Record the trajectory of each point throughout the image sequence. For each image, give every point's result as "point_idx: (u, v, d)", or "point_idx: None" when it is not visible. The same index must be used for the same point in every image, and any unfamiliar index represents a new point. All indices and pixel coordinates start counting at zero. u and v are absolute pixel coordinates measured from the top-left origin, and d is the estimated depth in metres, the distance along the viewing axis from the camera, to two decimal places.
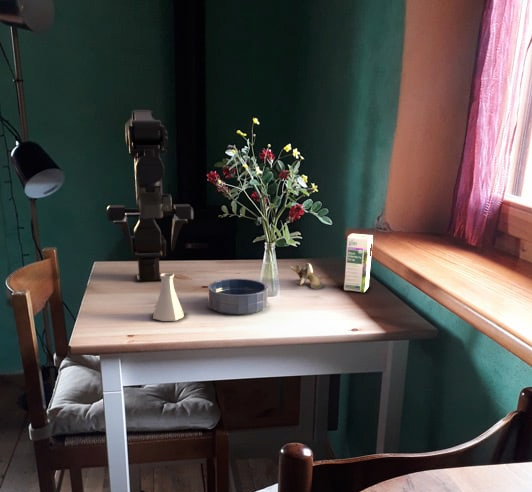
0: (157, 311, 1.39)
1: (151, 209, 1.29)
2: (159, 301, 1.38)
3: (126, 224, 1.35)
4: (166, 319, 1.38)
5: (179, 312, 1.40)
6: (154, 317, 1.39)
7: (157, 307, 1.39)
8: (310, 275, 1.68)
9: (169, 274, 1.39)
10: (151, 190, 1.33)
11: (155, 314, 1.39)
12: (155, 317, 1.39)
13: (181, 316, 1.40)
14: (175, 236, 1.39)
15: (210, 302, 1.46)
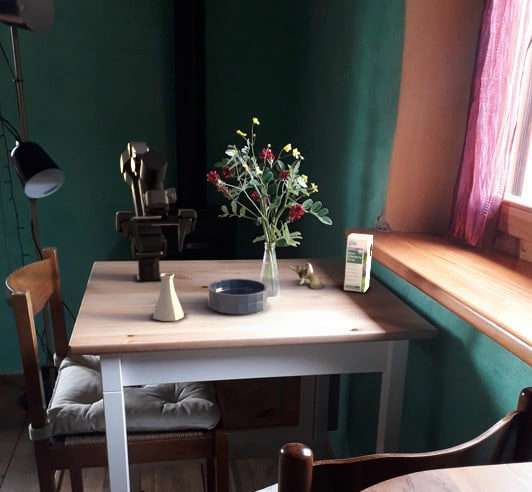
0: (157, 311, 1.39)
1: (157, 194, 1.40)
2: (159, 301, 1.38)
3: (135, 223, 1.42)
4: (166, 319, 1.38)
5: (178, 312, 1.40)
6: (154, 317, 1.39)
7: (157, 307, 1.39)
8: (310, 275, 1.68)
9: (169, 274, 1.39)
10: None
11: (155, 314, 1.39)
12: (155, 317, 1.39)
13: (181, 316, 1.40)
14: (182, 236, 1.46)
15: (210, 302, 1.46)
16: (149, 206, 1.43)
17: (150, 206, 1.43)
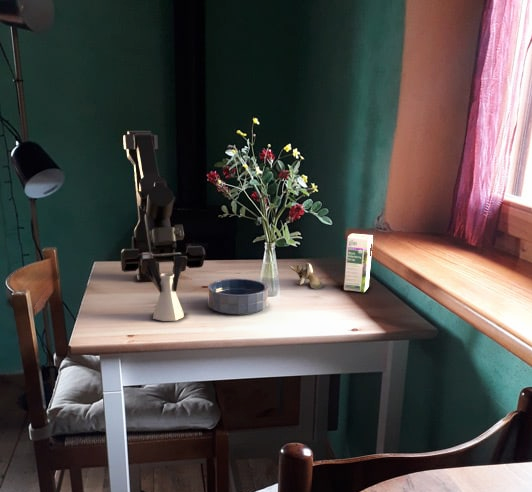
0: (157, 311, 1.39)
1: (164, 231, 1.34)
2: (159, 301, 1.38)
3: (154, 260, 1.37)
4: (166, 319, 1.38)
5: (179, 312, 1.40)
6: (154, 317, 1.39)
7: (157, 307, 1.39)
8: (310, 275, 1.68)
9: (169, 274, 1.39)
10: None
11: (155, 314, 1.39)
12: (155, 317, 1.39)
13: (181, 316, 1.40)
14: (177, 275, 1.39)
15: (210, 302, 1.46)
16: (156, 244, 1.37)
17: (157, 243, 1.37)
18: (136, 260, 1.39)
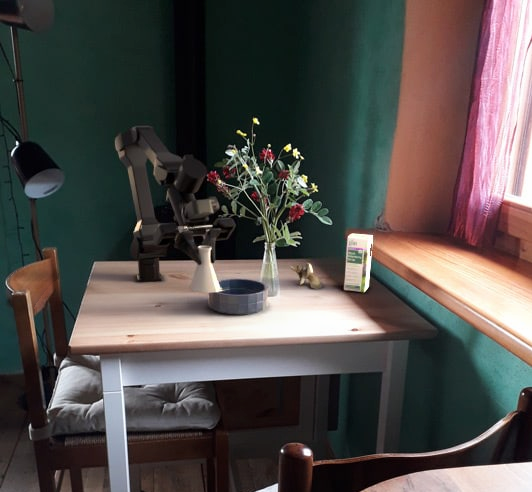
0: (197, 284, 1.39)
1: (203, 203, 1.35)
2: (198, 274, 1.39)
3: (191, 233, 1.38)
4: (207, 291, 1.39)
5: (217, 283, 1.41)
6: (194, 290, 1.40)
7: (196, 280, 1.39)
8: (310, 275, 1.68)
9: (205, 246, 1.40)
10: None
11: (195, 287, 1.40)
12: (195, 290, 1.40)
13: (219, 287, 1.42)
14: (213, 247, 1.40)
15: (210, 302, 1.46)
16: (191, 216, 1.38)
17: (192, 216, 1.38)
18: (171, 234, 1.38)
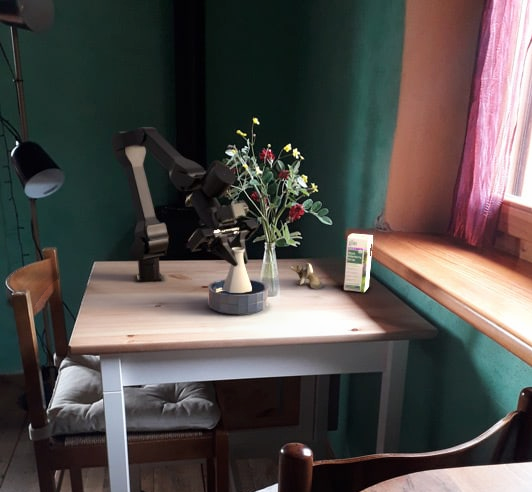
0: (233, 285, 1.45)
1: (237, 207, 1.41)
2: (234, 275, 1.45)
3: (226, 236, 1.43)
4: (244, 291, 1.45)
5: (249, 283, 1.48)
6: (231, 291, 1.45)
7: (232, 281, 1.45)
8: (310, 275, 1.68)
9: (237, 248, 1.46)
10: None
11: (231, 288, 1.45)
12: (232, 291, 1.45)
13: (251, 287, 1.48)
14: (244, 248, 1.46)
15: (210, 302, 1.46)
16: (225, 220, 1.42)
17: (225, 220, 1.43)
18: (206, 238, 1.42)
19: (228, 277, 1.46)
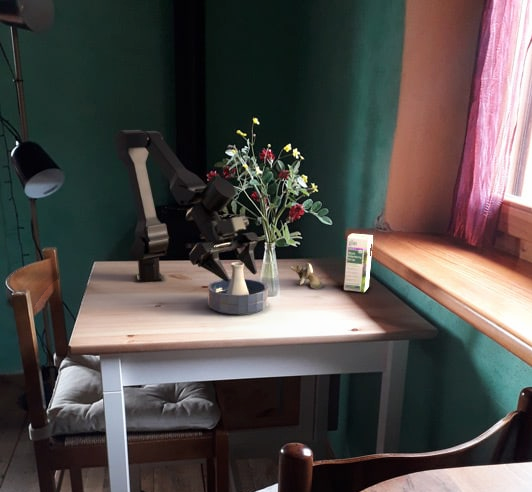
0: None
1: (237, 221, 1.42)
2: (234, 290, 1.46)
3: (217, 252, 1.42)
4: None
5: None
6: None
7: None
8: (310, 275, 1.68)
9: (236, 263, 1.47)
10: (220, 223, 1.47)
11: None
12: None
13: None
14: (253, 259, 1.49)
15: (210, 302, 1.46)
16: (225, 234, 1.43)
17: (226, 233, 1.44)
18: None
19: (228, 292, 1.47)
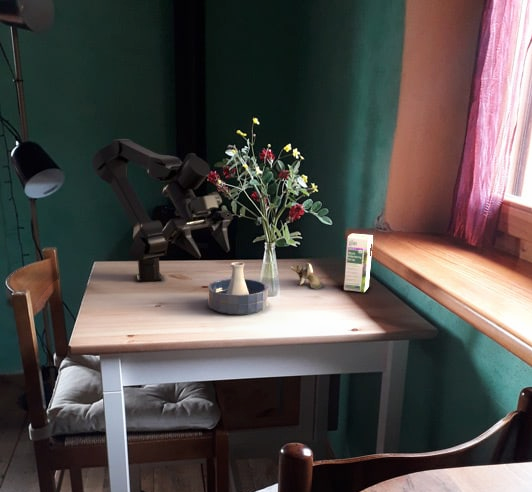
0: None
1: (210, 199, 1.46)
2: (234, 290, 1.46)
3: (189, 229, 1.46)
4: None
5: None
6: None
7: None
8: (310, 275, 1.68)
9: (236, 263, 1.47)
10: None
11: None
12: None
13: None
14: (226, 236, 1.53)
15: (210, 302, 1.46)
16: (198, 211, 1.48)
17: (198, 211, 1.48)
18: None
19: (228, 292, 1.47)
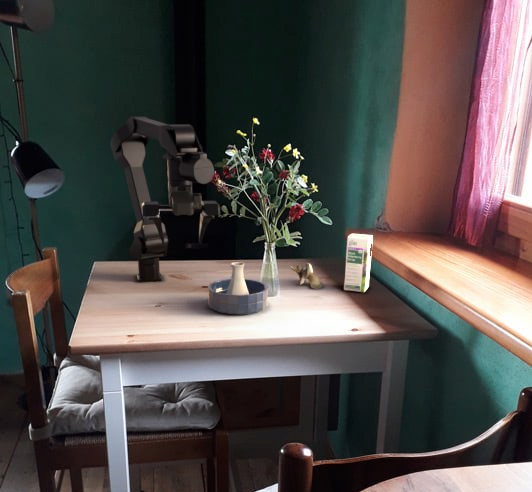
0: None
1: (183, 207, 1.43)
2: (234, 290, 1.46)
3: (159, 219, 1.48)
4: None
5: None
6: None
7: None
8: (310, 275, 1.68)
9: (236, 263, 1.47)
10: (183, 189, 1.47)
11: None
12: None
13: None
14: (203, 230, 1.53)
15: (210, 302, 1.46)
16: None
17: None
18: None
19: (228, 292, 1.47)
